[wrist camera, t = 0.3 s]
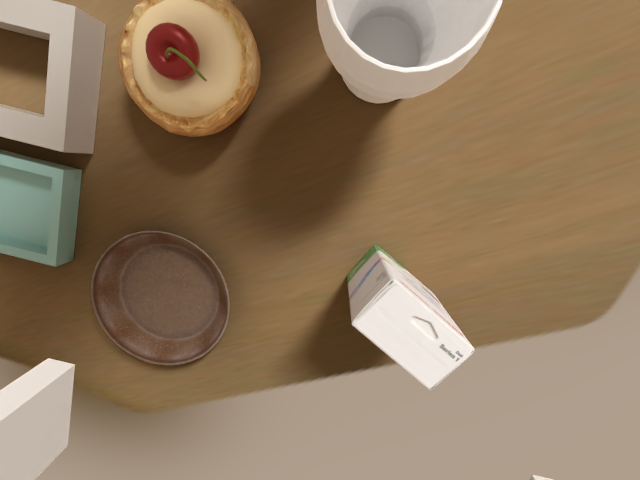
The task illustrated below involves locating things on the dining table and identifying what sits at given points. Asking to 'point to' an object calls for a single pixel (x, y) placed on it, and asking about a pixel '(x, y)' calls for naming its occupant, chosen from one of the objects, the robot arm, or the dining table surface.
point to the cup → (402, 42)
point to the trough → (38, 208)
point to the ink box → (404, 319)
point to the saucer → (160, 297)
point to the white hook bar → (58, 75)
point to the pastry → (189, 64)
